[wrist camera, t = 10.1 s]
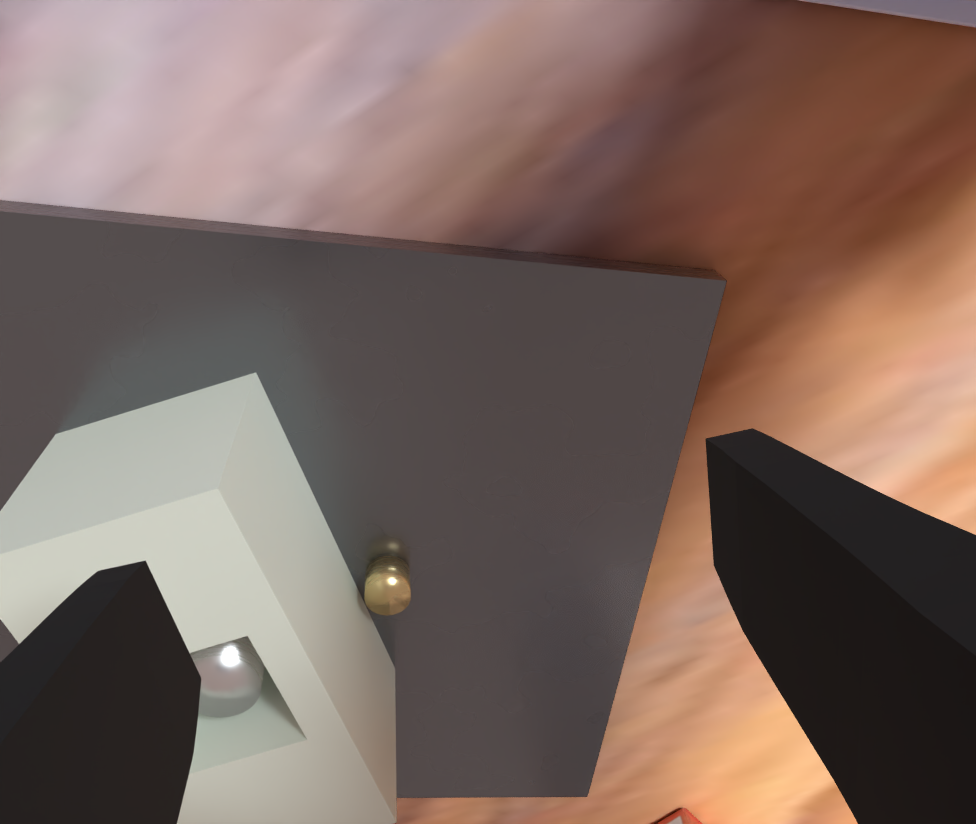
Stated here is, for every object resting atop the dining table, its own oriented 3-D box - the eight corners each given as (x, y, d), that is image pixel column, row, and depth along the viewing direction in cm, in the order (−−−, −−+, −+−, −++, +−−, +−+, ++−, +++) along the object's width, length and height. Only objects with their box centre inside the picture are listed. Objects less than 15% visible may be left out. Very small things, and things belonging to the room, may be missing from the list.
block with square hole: (395, 668, 24) (396, 822, 20) (232, 716, 24) (198, 879, 20) (255, 372, 20) (218, 488, 15) (55, 434, 20) (-40, 566, 15)
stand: (714, 270, 20) (804, 351, 16) (582, 776, 28) (617, 923, 24) (-303, 170, 17) (-543, 239, 13) (-126, 777, 25) (-235, 947, 21)
